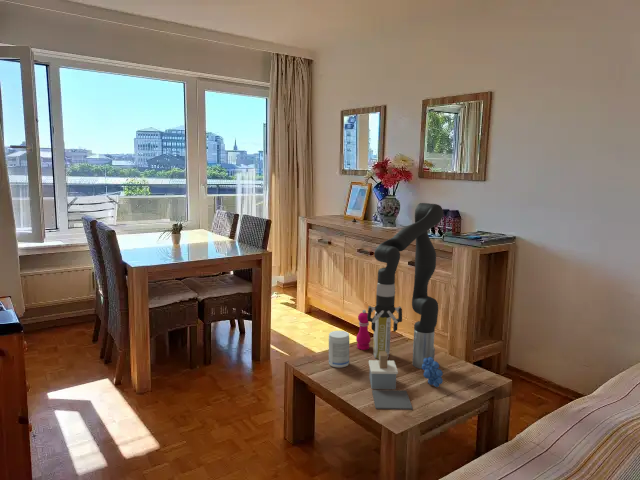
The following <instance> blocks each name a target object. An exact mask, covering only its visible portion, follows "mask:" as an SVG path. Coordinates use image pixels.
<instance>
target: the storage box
mask: <svg viewBox="0 0 640 480" xmlns="http://www.w3.org/2000/svg"><path fill="white" fill-rule="evenodd" d="M369 383H370V388H371V389H372V390H397V374H371V371H370V370H369Z"/></svg>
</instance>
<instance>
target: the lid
mask: <svg viewBox="0 0 640 480" xmlns="http://www.w3.org/2000/svg"><path fill="white" fill-rule="evenodd" d="M388 359H389V357H388V356H387V352H386V351H379V359H375V360H372V359H369V360H368V365H369V372H370V371H371V374H396V375H398V374H399V371H398V368H397V365H396V362H395V360H388Z"/></svg>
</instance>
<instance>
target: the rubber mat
mask: <svg viewBox="0 0 640 480" xmlns="http://www.w3.org/2000/svg"><path fill="white" fill-rule="evenodd" d="M371 392H372V398H373V402H374V407H375V410H406V411H407V410H412V411H413V406H412V403H411V400H410V397H409V394H408V391H407V390H405V389H403V390H397V389H372V390H371Z"/></svg>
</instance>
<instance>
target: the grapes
mask: <svg viewBox="0 0 640 480" xmlns="http://www.w3.org/2000/svg"><path fill="white" fill-rule="evenodd" d="M423 362H424V363H423V364H422V369H421V370H423V377H424V378H425V379H427V384H429V385H431V386H434V387H435V388H439V386H440V385H442V384H443V381H444V379H443V378H442V377H443V371H442V369H440V363H439V362H438V361H436V360H435V358H434V359H433V358H432V357H429V358H424V360H423Z"/></svg>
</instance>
